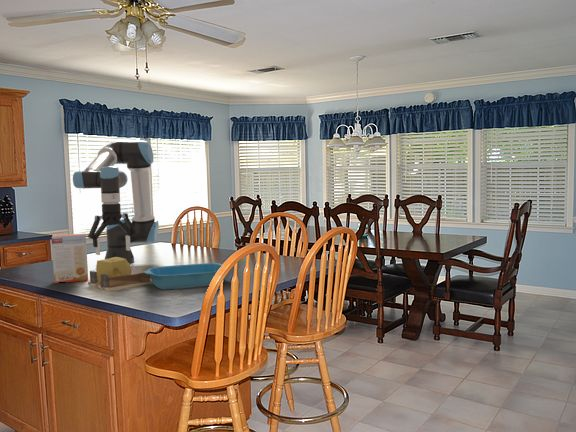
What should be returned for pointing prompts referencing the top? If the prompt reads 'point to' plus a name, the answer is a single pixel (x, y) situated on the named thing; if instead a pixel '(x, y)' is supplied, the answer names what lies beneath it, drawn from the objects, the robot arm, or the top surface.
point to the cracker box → (69, 258)
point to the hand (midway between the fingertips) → (113, 252)
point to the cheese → (112, 267)
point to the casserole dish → (183, 275)
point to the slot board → (119, 281)
